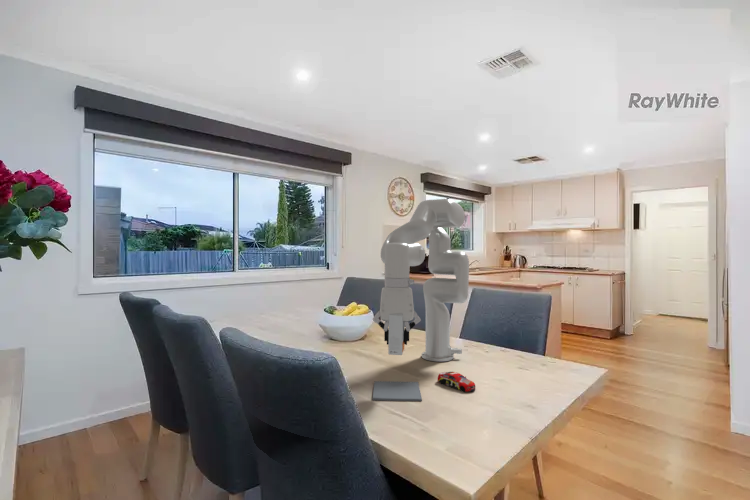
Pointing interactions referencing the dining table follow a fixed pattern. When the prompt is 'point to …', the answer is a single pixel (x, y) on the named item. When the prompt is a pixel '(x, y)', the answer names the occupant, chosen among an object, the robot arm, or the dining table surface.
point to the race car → (456, 381)
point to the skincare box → (396, 334)
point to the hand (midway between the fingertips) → (396, 343)
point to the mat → (396, 391)
